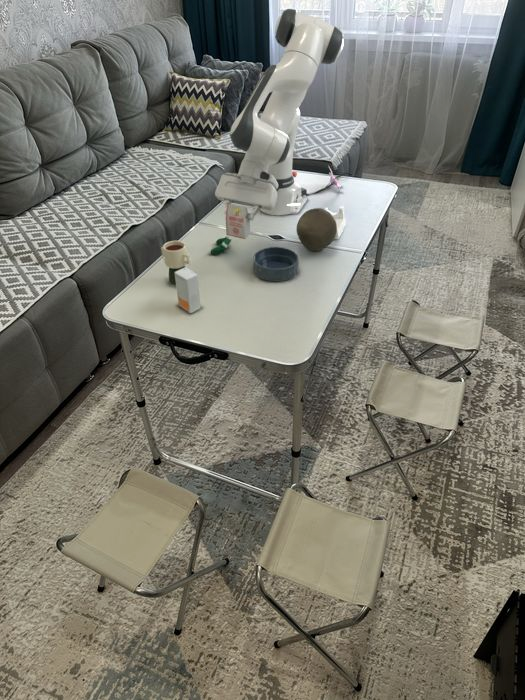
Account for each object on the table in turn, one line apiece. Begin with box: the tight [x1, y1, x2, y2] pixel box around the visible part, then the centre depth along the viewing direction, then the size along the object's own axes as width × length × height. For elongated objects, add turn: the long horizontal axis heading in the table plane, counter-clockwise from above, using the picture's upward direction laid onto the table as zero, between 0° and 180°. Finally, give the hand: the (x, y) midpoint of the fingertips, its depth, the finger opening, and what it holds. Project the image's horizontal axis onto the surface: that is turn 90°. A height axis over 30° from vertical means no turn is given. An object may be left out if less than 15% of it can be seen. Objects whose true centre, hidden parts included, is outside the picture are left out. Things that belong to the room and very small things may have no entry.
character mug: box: [160, 240, 191, 286], centre depth 162 cm, size 11×7×13 cm, turn 60°
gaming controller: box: [210, 235, 232, 255], centre depth 182 cm, size 9×4×6 cm
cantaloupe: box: [296, 207, 337, 252], centre depth 178 cm, size 14×14×15 cm
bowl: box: [252, 246, 300, 282], centre depth 170 cm, size 15×15×5 cm
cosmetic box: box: [175, 267, 202, 314], centre depth 151 cm, size 6×4×12 cm
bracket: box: [323, 205, 347, 240], centre depth 191 cm, size 13×7×8 cm, turn 160°
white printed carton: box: [225, 203, 251, 240], centre depth 162 cm, size 4×7×10 cm, turn 63°
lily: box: [323, 166, 342, 193], centre depth 222 cm, size 12×12×10 cm
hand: (238, 217), depth 161 cm, fingers closed on white printed carton, 7 cm apart
